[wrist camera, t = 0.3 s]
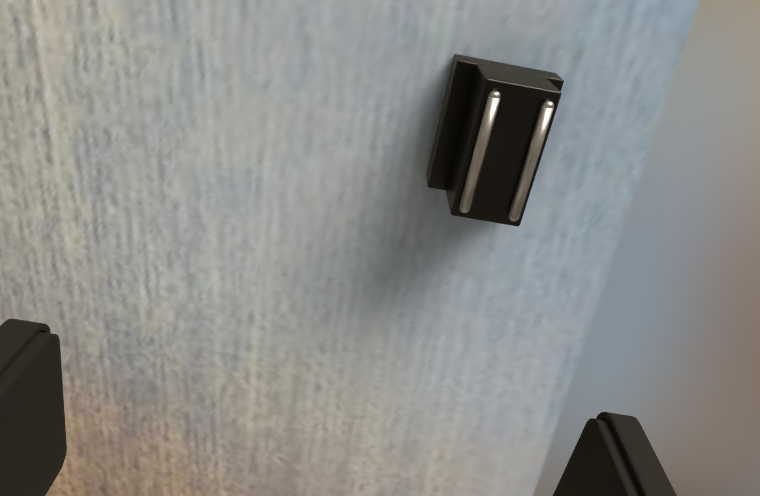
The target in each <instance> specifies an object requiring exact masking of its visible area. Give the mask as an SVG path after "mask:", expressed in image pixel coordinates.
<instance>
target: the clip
mask: <svg viewBox="0 0 760 496" xmlns="http://www.w3.org/2000/svg"><path fill="white" fill-rule="evenodd" d="M563 82H564V80H563V79H562V78H560V77H559V76H558V75H557V74H556V73H551V72H546V71H541V70H535V69H530V68H525V67H520V66H514V65H509V64H504V63H499V62H493V61H488V60H483V59H478V58H472V57H467V56H462V55H457V54H455V55H454V57H453V62H452V66H451V70H450V75H449V79H448V83H447V88H446V92H445V96H444V101H443V105H442V110H441V114H440V118H439V123H438V127H437V131H436V136H435V140H434V144H433V149H432V153H431V158H430V162H429V166H428V171H427V175H426V177H427V184H428V187H430V188H436V189H441V190H446V194H447V199H448V203H449V208H450V212H451V215H455V216H460V217H466V218H472V219H478V220H484V221H490V222H495V223H501V224H507V225H513V226H519V225H520V223H521V220H522V216H523V213H524V210H525V207H526V204H527V201H528V197H529V194H530V191H531V188H532V185H533V182H534V179H535V175H536V172H537V169H538V166H539V163H540V160H541V156H542V153H543V150H544V147H545V144H546V141H547V138H548V134H549V131H550V128H551V125H552V122H553V119H554V115H555V112H556V109H557V106H558V103H559V100H560V97H561V88H562V85H563Z"/></svg>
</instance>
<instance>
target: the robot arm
mask: <svg viewBox="0 0 760 496" xmlns="http://www.w3.org/2000/svg"><path fill="white" fill-rule="evenodd" d="M66 448H67V446H66V431H65V415H64V400H63V385H62V369H61V354H60V341H59V337H58V335H56V334H51V333H50V328H49V327H48V325H46V324H43V323H37V322H30V321H24V320H18V319H8V320H7V321H5V322H4V323H3V324H2V325H1V326H0V496H45V495H46V493H47V492H48V490H49V488H50V487H51V485H52V483H53V482H54V480H55V478H56V477H57V475H58V473H59V472H60V470H61V468H62V465H63V463H64V460H65V456H66ZM553 496H677V495H676V493H675V491H674V489H673V487H672V486H671V484H670V482H669V480H668V478H667V476H666V474H665V472H664V470H663V468H662V466H661V464H660V462H659V460H658V458H657V456H656V454H655V452H654V450H653V448H652V446H651V444H650V442H649V440H648V438H647V436H646V434H645V432H644V431H643V429H642V427H641V425H640V423H639V421H638V420H637V419H636V418H635V417H633V416H627V415H620V414H614V413H608V412H601V413H600V414H599V415H598V416H597V418H596V419H589V420H588V421H587V423H586V425H585V427H584V429H583V431H582V434H581V436H580V438H579V440H578V442H577V445H576V447H575V449H574V451H573V453H572V455H571V458H570V460H569V462H568V464H567V467H566V468H565V471H564V473H563V475H562V477H561V479H560V481H559V484H558V486H557V488H556V490H555V492H554V494H553Z"/></svg>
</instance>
